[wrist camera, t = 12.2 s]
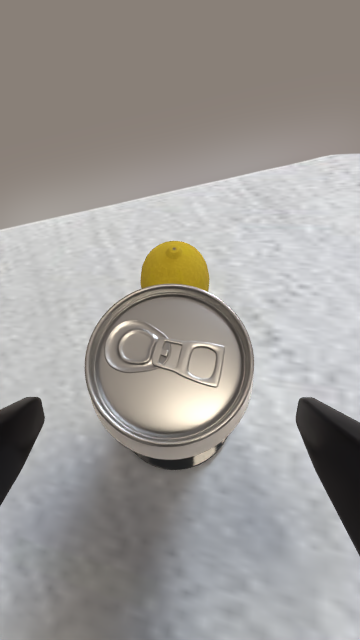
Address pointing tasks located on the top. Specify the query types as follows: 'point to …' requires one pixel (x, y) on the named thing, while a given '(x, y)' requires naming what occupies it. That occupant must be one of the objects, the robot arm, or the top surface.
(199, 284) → the lemon
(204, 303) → the can
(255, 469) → the top surface
